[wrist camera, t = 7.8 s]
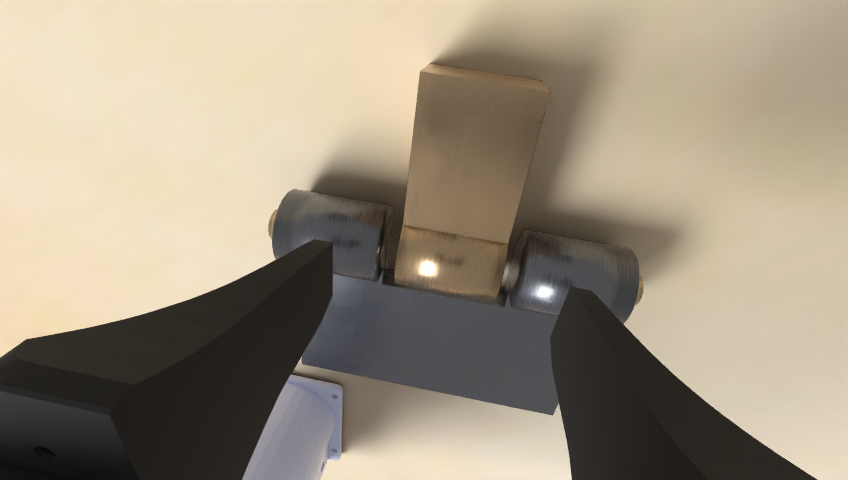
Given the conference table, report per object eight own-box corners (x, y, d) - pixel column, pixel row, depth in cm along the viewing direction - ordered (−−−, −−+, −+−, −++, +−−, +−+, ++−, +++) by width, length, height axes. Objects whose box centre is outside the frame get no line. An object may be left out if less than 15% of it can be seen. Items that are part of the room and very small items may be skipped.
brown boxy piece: (490, 272, 23) (491, 318, 19) (406, 256, 23) (391, 299, 19) (541, 80, 17) (554, 96, 14) (430, 63, 18) (415, 74, 14)
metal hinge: (561, 398, 27) (572, 455, 23) (300, 345, 28) (273, 391, 24) (637, 236, 20) (668, 281, 17) (290, 175, 21) (252, 206, 18)
